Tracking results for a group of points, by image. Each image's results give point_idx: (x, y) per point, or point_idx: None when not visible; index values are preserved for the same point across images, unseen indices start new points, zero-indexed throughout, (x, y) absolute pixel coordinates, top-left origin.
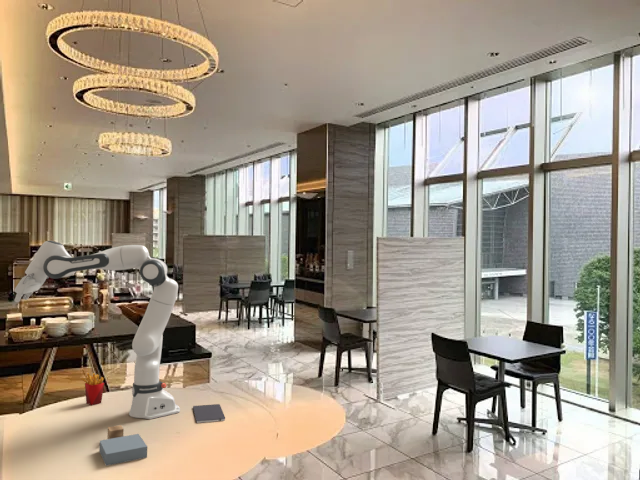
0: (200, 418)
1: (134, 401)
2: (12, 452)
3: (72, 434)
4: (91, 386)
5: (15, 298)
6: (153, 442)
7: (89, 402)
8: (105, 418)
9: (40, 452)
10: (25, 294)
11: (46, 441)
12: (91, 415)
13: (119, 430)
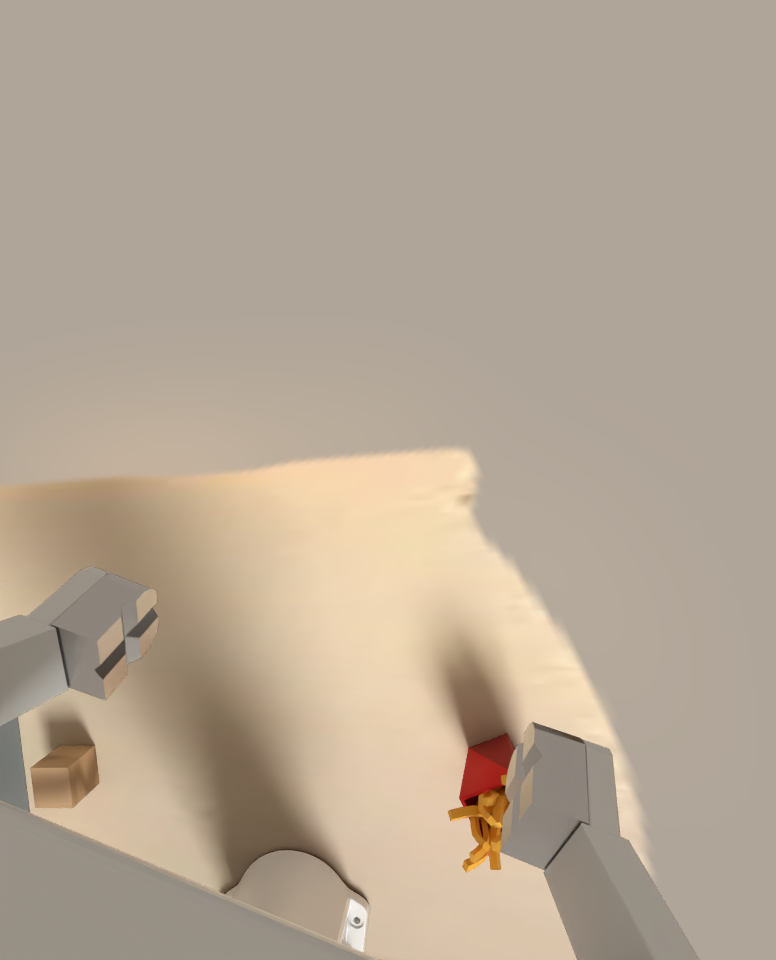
0: None
1: (254, 905)
2: (93, 496)
3: (175, 657)
4: (461, 795)
5: (49, 601)
6: None
7: (483, 747)
8: (291, 770)
9: (65, 567)
10: (587, 835)
11: (144, 583)
12: (344, 732)
13: (35, 794)
